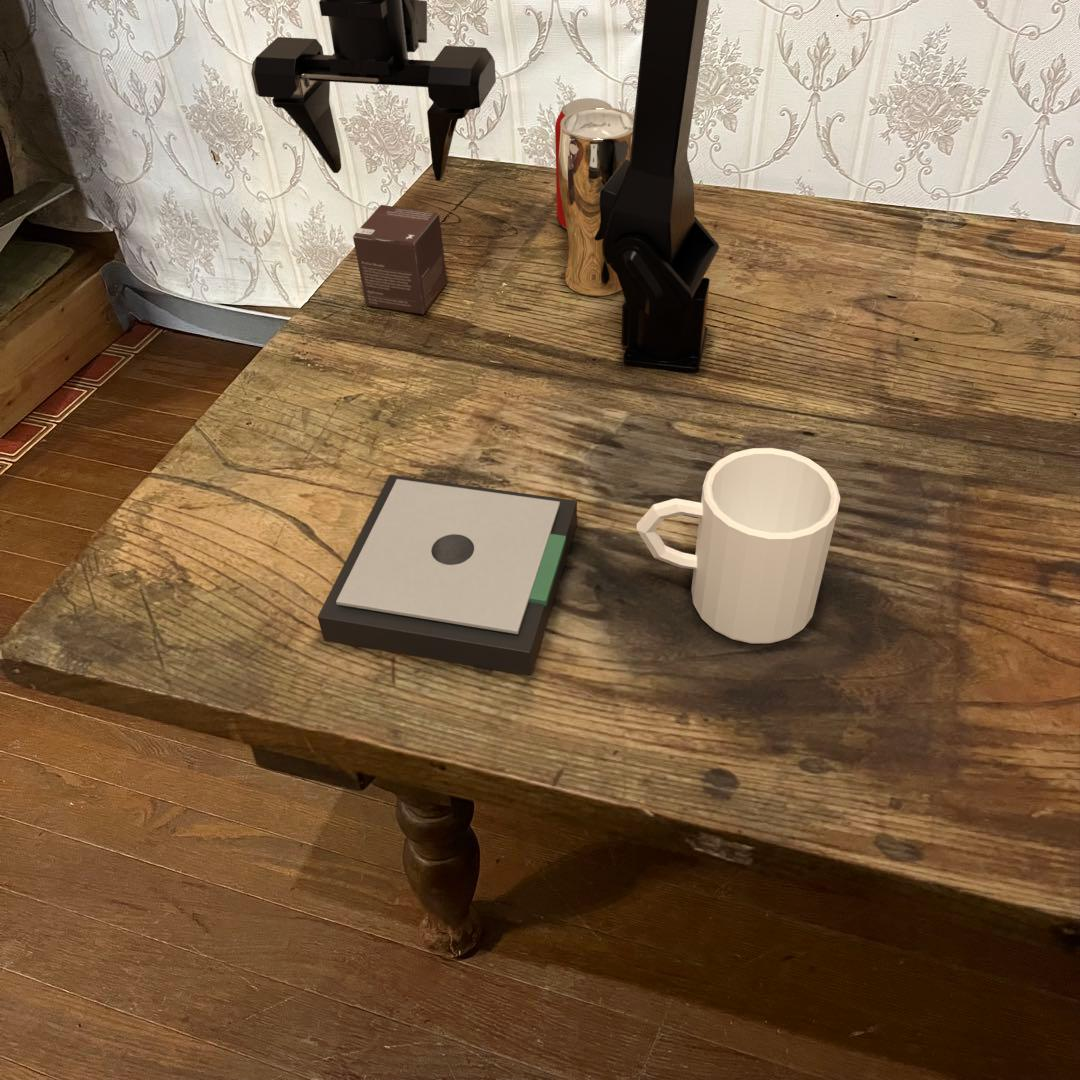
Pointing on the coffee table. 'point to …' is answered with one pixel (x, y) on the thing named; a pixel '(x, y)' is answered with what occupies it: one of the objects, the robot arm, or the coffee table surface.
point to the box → (401, 258)
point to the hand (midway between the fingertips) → (388, 174)
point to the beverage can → (565, 110)
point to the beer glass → (590, 190)
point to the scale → (453, 574)
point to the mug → (754, 542)
